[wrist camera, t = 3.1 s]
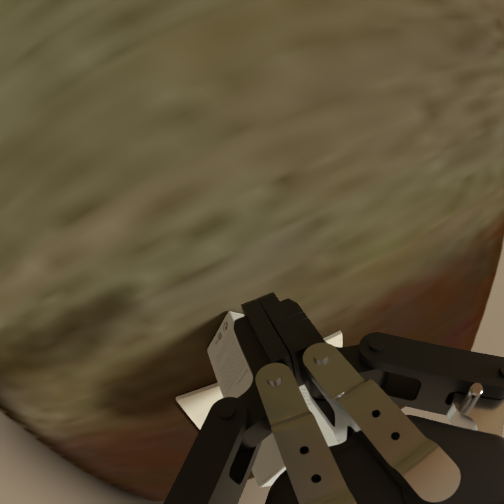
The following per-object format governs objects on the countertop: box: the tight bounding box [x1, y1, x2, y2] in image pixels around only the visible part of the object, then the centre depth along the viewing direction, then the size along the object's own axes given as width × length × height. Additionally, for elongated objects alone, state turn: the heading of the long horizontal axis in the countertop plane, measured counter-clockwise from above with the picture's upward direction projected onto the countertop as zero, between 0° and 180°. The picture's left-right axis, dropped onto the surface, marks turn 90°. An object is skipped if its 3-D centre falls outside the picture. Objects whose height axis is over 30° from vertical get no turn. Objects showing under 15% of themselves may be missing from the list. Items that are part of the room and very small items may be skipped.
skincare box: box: [207, 311, 339, 487], centre depth 20 cm, size 6×4×12 cm
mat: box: [176, 331, 342, 429], centre depth 30 cm, size 12×16×1 cm
